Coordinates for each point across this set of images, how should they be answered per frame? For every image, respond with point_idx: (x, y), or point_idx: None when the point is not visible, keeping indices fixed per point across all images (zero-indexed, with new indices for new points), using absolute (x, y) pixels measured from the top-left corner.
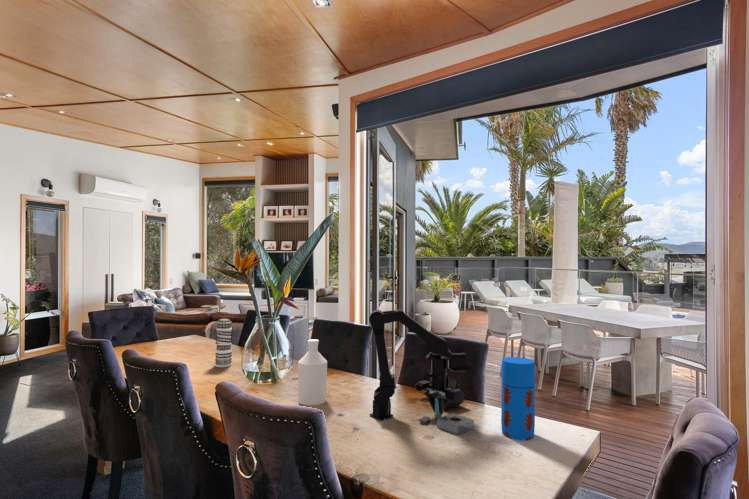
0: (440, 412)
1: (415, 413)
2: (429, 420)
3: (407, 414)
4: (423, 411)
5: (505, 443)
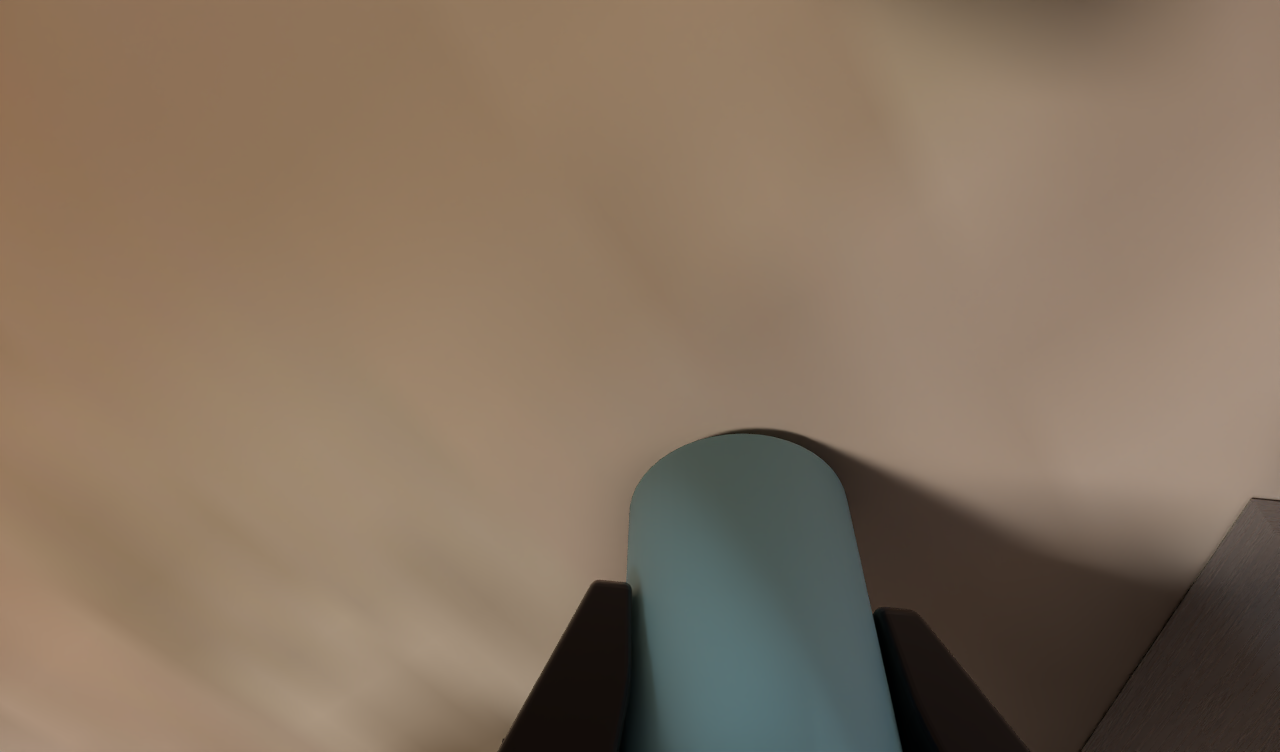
0: None
1: (50, 596)
2: None
3: (16, 726)
4: (7, 352)
5: None
